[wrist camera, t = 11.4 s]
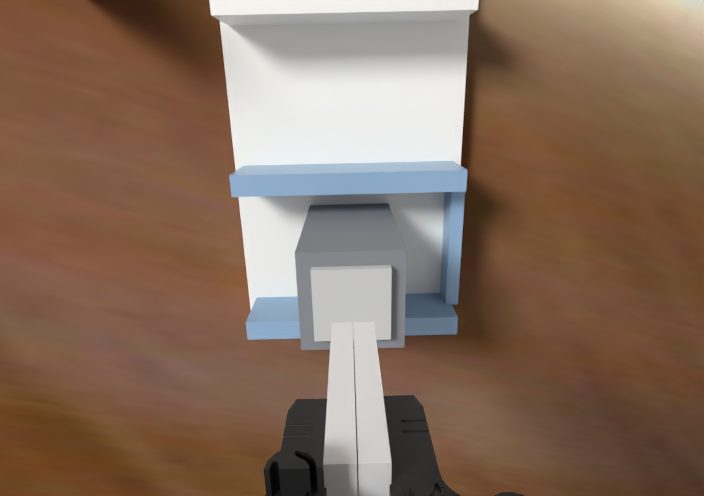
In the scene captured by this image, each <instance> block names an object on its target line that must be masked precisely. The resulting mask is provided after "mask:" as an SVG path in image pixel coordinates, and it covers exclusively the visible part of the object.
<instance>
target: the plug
mask: <svg viewBox="0 0 704 496" xmlns="http://www.w3.org/2000/svg"><path fill="white" fill-rule="evenodd" d="M295 265H296V280H297V294H298V309H299V324H300V339H301V350H324V349H330V344H331V328H332V323H341V322H352V323H353V322H374V325H375V334H376V342H377V348H402V347H404V346H405V298H406V248H405V245H404V243H403V240H402V237H401V235H400V232H399V230H398V227H397V225H396V222H395V219H394V217H393V214H392V212H391V209H390V207H389V204H388V203H379V204H337V205H310V207H309V210H308V213H307V216H306V219H305V222H304V225H303V229H302V232H301V235H300V238H299V241H298V244H297V247H296V250H295ZM353 349H354V328H353Z"/></svg>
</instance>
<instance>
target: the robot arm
mask: <svg viewBox="0 0 704 496" xmlns="http://www.w3.org/2000/svg"><path fill="white" fill-rule="evenodd" d="M353 328H354V357H353ZM354 372H355V390H354ZM355 408H356V424H355ZM356 440H357V458H356ZM357 472H358V496H460V495H459V494H457V493H455V492H454V491H452V490H451V489H450V488H449V487H448V486H447V485H446V484H445V482H444V481H443V480H442V478H441V475H440V473H439V469H438V465H437V461H436V457H435V453H434V449H433V445H432V441H431V437H430V433H429V429H428V425H427V422H426V417H425V413H424V409H423V406H422V405H421V404H420V402H419V401H418V400H417V399H416V398H415V397H414V395H405V396H383V390H382V382H381V374H380V366H379V358H378V350H377V342H376V334H375V325H374V322H353V323H352V322H341V323H332V328H331V344H330V361H329V377H328V393H327V399H297V400H296V401H295V403H294V404H293V405H292V406H291V408H290V409H289V410H288V414H287V419H286V427H285V430H284V438H283V441H282V447H281V451H279V452H277V453H275V454H274V455H273V456H272V457H271V458H270V459H269V460H268V461H267V464H266V466H265V468H264V476H265V485H266V495H265V496H357ZM495 496H524V495H521V494H517V493H513V492H504V493H499V494H497V495H495Z"/></svg>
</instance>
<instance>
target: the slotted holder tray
mask: <svg viewBox="0 0 704 496" xmlns="http://www.w3.org/2000/svg"><path fill="white" fill-rule="evenodd" d="M209 1H210V10H211V16H213V17H215V18H216V19H218V20H220V29H221V38H222V48H223V57H224V66H225V75H226V85H227V94H228V103H229V113H230V122H231V131H232V140H233V150H234V159H235V168H236V171H235V172H234V173H232V174H231V175H229V178H230V187H231V196H232V197H239V205H240V215H241V224H242V233H243V243H244V252H245V261H246V271H247V280H248V289H249V298H250V308H251V312H250V314H249V316H248V319H247V321H246V328H247V337H248V340H250V339H289V338H300V324H299V309H298V294H297V280H296V265H295V250H296V247H297V244H298V241H299V238H300V235H301V232H302V229H303V225H304V222H305V219H306V216H307V213H308V210H309V207H310V205H337V204H379V203H388V204H389V207H390V209H391V212H392V214H393V217H394V219H395V222H396V225H397V227H398V230H399V232H400V235H401V237H402V240H403V243H404V245H405V248H406V298H405V336H407V335H446V334H457V325H458V316H457V314H456V312H455V310H454V308H453V306H452V305H453V304H458V294H459V279H460V263H461V248H462V232H463V216H464V201H465V192H466V186H467V171H468V170H467V169H465V168H464V167H462V166H461V150H462V134H463V117H464V100H465V83H466V66H467V50H468V33H469V16H470V15H471V14H472V13H474V12H475V11H477V10H478V2H479V0H209Z"/></svg>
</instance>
